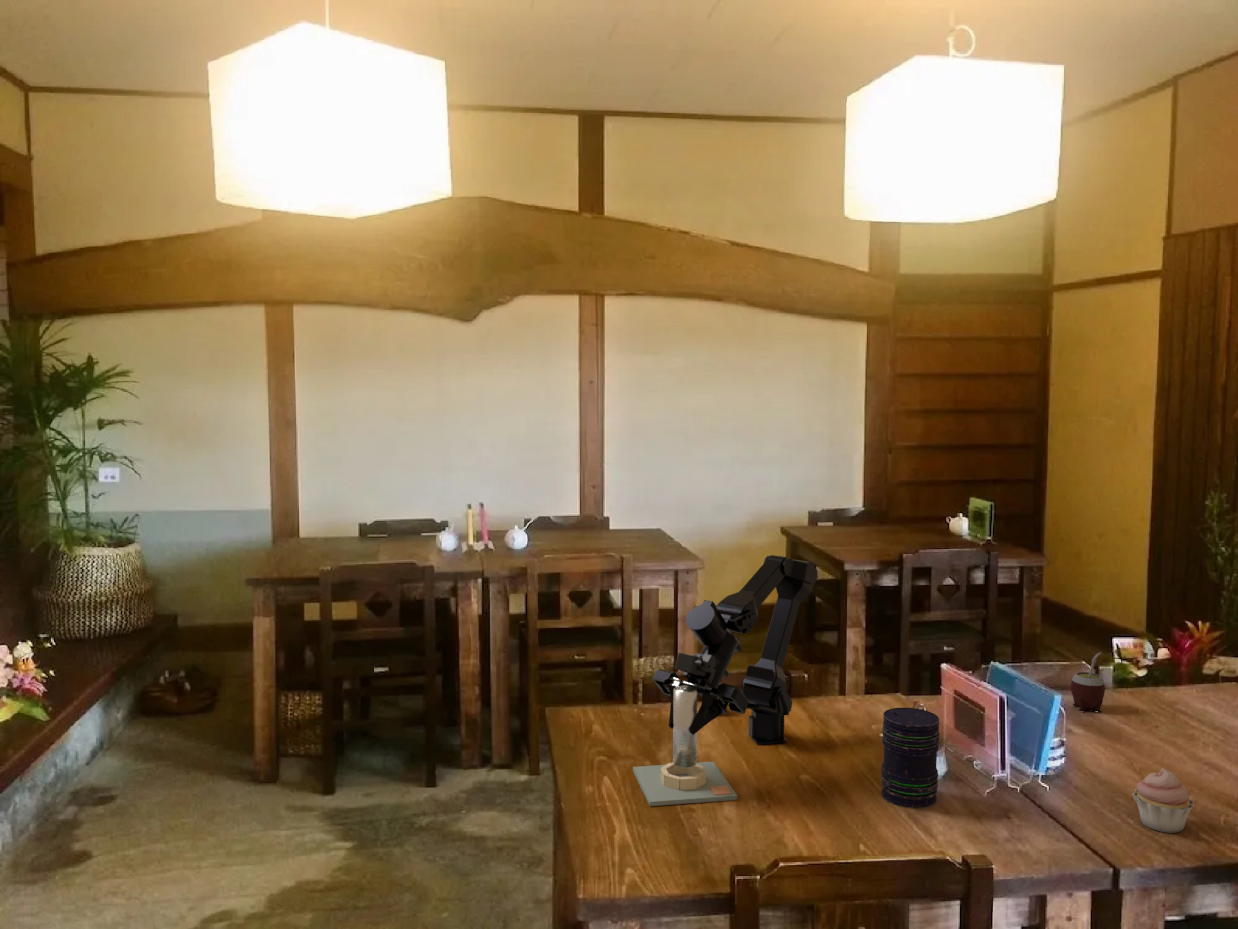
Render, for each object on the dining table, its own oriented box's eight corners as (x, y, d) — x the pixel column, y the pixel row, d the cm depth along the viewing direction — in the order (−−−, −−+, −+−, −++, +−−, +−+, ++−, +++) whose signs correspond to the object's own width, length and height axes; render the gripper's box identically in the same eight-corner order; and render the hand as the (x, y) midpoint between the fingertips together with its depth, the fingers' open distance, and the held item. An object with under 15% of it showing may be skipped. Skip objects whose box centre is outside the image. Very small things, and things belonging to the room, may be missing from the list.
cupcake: (1127, 809, 175) (1130, 754, 174) (1188, 818, 172) (1191, 762, 171) (1133, 832, 166) (1136, 774, 166) (1197, 842, 163) (1200, 783, 162)
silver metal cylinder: (685, 756, 188) (685, 684, 187) (701, 763, 185) (702, 689, 184) (668, 762, 186) (668, 688, 184) (684, 769, 182) (685, 694, 181)
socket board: (713, 765, 195) (713, 751, 194) (737, 799, 179) (737, 784, 179) (632, 771, 192) (632, 756, 192) (649, 806, 176) (649, 791, 176)
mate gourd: (1078, 702, 233) (1081, 639, 231) (1113, 711, 227) (1116, 646, 225) (1063, 709, 228) (1066, 644, 227) (1098, 718, 222) (1101, 652, 221)
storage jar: (943, 793, 182) (945, 713, 181) (930, 813, 174) (932, 729, 172) (888, 781, 187) (890, 704, 186) (873, 800, 179) (875, 719, 177)
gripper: (657, 627, 192) (621, 697, 185) (740, 644, 180) (705, 719, 173) (681, 658, 199) (647, 727, 191) (762, 676, 187) (730, 750, 180)
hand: (680, 730), depth 184 cm, fingers closed on silver metal cylinder, 4 cm apart
